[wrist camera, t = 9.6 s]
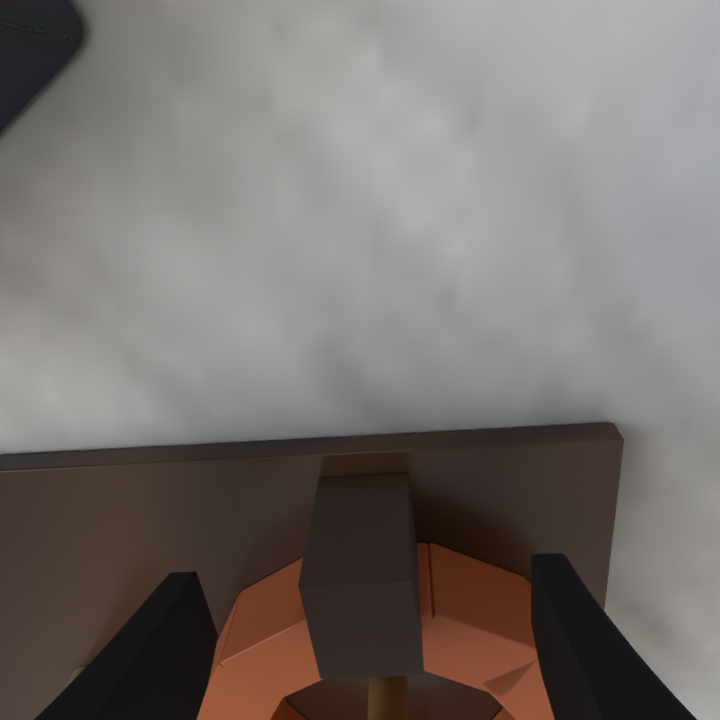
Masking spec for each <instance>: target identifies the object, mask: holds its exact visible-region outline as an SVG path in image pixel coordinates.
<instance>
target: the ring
mask: <svg viewBox="0 0 720 720" xmlns="http://www.w3.org/2000/svg"><path fill="white" fill-rule="evenodd" d="M424 671H427V672H430V673H433V674H436V675H439V676H442V677H445V678H448V679H451V680H454V681H456V682H459V683H462V684H465V685H468V686H471V687H474V688H477V689H480V690H483V691H486V692H489V693H490V694H491V695H492V696H493V697H494V698H495V699H496V700H497V701H498V702H499V703H500V704H501V705H502V706H503V708H502V709H501V711H500V712H499V713H498V714H497V715H496V716H495V717H494V719H493V720H555V719H554V715H553V712H552V709H551V705H550V702H549V699H548V695H547V692H546V689H545V686H544V682H543V679H542V675H541V670H540V666H539V661H538V656H537V651H536V646H535V641H534V635H533V630H532V625H531V583H530V582H529V581H528V580H525V577H523V576H520V575H518V574H515V573H512V572H510V571H507V570H504V569H501V568H499V567H496V566H493V565H491V564H488V563H485V562H482V561H480V560H477V559H474V558H471V557H469V556H466V555H463V554H461V553H458V552H455V551H452V550H450V549H447V548H444V547H441V546H439V545H436V544H433V543H429V544H428V545H427V543H417V541H416V531H415V522H414V513H413V504H412V495H411V486H410V477H409V474H408V473H407V472H403V473H388V474H374V475H359V476H345V477H330V478H320V479H319V480H318V484H317V489H316V494H315V499H314V504H313V510H312V515H311V520H310V525H309V530H308V535H307V540H306V545H305V551H304V556H303V558H301V559H299V560H297V561H295V562H294V563H292V564H290V565H288V566H286V567H284V568H283V569H281V570H279V571H277V572H275V573H274V574H272V575H270V576H268V577H266V578H264V579H263V580H261V581H259V582H257V583H255V584H254V585H252V586H250V587H248V588H246V589H244V590H243V591H242V592H241V593H240V594H239V596H238V598H237V600H236V602H235V604H234V607H233V609H232V611H231V613H230V615H229V617H228V620H227V622H226V624H225V626H224V628H223V631H222V633H221V635H220V637H219V639H218V641H217V644H216V649H215V655H214V660H213V665H212V669H211V674H210V678H209V682H208V686H207V690H206V693H205V696H204V699H203V702H202V705H201V708H200V711H199V714H198V717H197V720H307V719H306V718H305V717H303V716H302V715H301V714H300V713H299V712H297V711H296V710H295V709H294V708H293V707H292V706H290V705H289V704H288V703H287V702H286V699H285V697H286V696H288V695H290V694H292V693H294V692H297V691H299V690H301V689H303V688H305V687H308V686H310V685H312V684H314V683H316V682H318V681H321V680H323V679H330V678H361V677H393V676H421V675H423V673H424Z"/></svg>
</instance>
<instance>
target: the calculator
mask: <svg viewBox="0 0 720 720" xmlns="http://www.w3.org/2000/svg"><path fill="white" fill-rule="evenodd" d="M82 37H83V27H82V22H81V19H80V17H79V16H78V14H77V12H76V11H75V9H74V8H73V6H72V5H71V4H70V3H69V1H68V0H0V131H1V130H2V129H3V128H4V126H5V125H6V124H7V123H8V122H9V121H10V120H11V119H12V118H13V117H14V116H15V115H16V114H17V113H18V112H19V110H20V109H21V108H22V107H23V106H24V105H25V104H26V103H27V102H28V101H29V100H30V99H31V98H32V97H33V96H34V94H35V93H36V92H37V91H38V90H39V89H40V88H41V87H42V86H43V85H44V84H45V83H46V82H47V81H48V80H49V78H50V77H51V76H52V75H53V74H54V73H55V72H56V71H57V70H58V69H59V68H60V67H61V66H62V65H63V64H64V62H65V61H66V60H67V59H68V58H69V57H70V56H71V55H72V54H73V53H74V51H75V50H76V49H77V48H78V47H79V45H80V43H81V41H82Z"/></svg>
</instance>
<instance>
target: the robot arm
mask: <svg viewBox="0 0 720 720" xmlns="http://www.w3.org/2000/svg"><path fill="white" fill-rule="evenodd" d="M531 625H532V630H533V635H534V641H535V646H536V651H537V656H538V661H539V666H540V670H541V675H542V679H543V682H544V686H545V689H546V692H547V695H548V699H549V702H550V705H551V709H552V712H553V715H554V719H555V720H697V719H696V718H695V717H694V716H693V715H692V714H691V713H690V712H689V711H688V710H687V709H686V707H685V706H684V705H683V704H682V703H681V702H680V701H679V700H678V699H677V698H676V697H675V696H674V695H673V693H672V692H671V691H670V690H669V689H668V688H667V687H666V686H665V685H664V683H663V682H662V681H661V680H660V679H659V678H658V677H657V675H656V674H655V673H654V672H653V671H652V670H651V669H650V668H649V666H648V665H647V664H646V663H645V662H644V660H643V659H642V658H641V657H640V656H639V655H638V653H637V652H636V651H635V650H634V649H633V647H632V646H631V645H630V644H629V642H628V641H627V640H626V639H625V637H624V636H623V635H622V633H621V632H620V631H619V630H618V628H617V627H616V626H615V625H614V623H613V622H612V621H611V620H610V618H609V617H608V616H607V614H606V613H605V612H604V610H603V609H602V608H601V606H600V605H599V604H598V602H597V601H596V599H595V598H594V597H593V595H592V594H591V593H590V591H589V590H588V588H587V587H586V585H585V584H584V582H583V581H582V580H581V578H580V577H579V575H578V574H577V572H576V570H575V569H574V567H573V566H572V564H571V563H570V561H569V559H568V558H567V557H566V556H565V555H564V554H563V553H551V554H531ZM217 639H218V634H217V631H216V628H215V625H214V622H213V619H212V616H211V613H210V610H209V607H208V604H207V601H206V598H205V595H204V592H203V589H202V587H201V584H200V581H199V578H198V575H197V572H196V571H192V572H172V573H169V574H168V575H167V577H166V578H165V579H164V580H163V581H162V582H161V583H160V584H159V586H158V587H157V588H156V589H155V590H154V591H153V592H152V593H151V595H150V596H149V597H148V598H147V599H146V600H145V602H144V603H143V604H142V605H141V606H140V607H139V608H138V610H137V611H136V612H135V613H134V614H133V615H132V616H131V618H130V619H129V620H128V621H127V622H126V623H125V624H124V626H123V627H122V628H121V629H120V630H119V631H118V632H117V634H116V635H115V636H114V637H113V638H112V639H111V640H110V641H109V642H108V644H107V645H106V646H105V647H104V648H103V649H102V650H101V651H100V652H99V653H98V655H97V656H96V657H95V658H94V659H93V660H92V661H91V662H90V663H89V664H88V665H87V666H86V667H85V669H84V670H83V671H82V672H81V673H80V674H79V675H78V676H77V677H76V678H75V679H74V680H73V681H72V682H71V683H70V684H69V685H68V686H67V687H66V688H65V689H64V690H63V691H62V692H61V693H60V694H59V695H58V697H57V698H56V699H55V700H54V701H53V702H52V703H51V704H50V705H48V706H47V707H46V708H45V709H44V710H43V711H42V712H41V713H40V714H39V715H38V716H37V717H36V718H35V719H34V720H197V717H198V714H199V711H200V708H201V705H202V702H203V699H204V696H205V693H206V690H207V686H208V682H209V678H210V674H211V669H212V665H213V660H214V655H215V649H216V644H217Z"/></svg>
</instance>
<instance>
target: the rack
mask: <svg viewBox="0 0 720 720" xmlns="http://www.w3.org/2000/svg"><path fill="white" fill-rule="evenodd" d="M623 443H624V438H623V437H622V435H621V434H620V432H619V430H618V429H617V427H616V426H615V424H614V423H597V424H578V425H560V426H541V427H522V428H504V429H485V430H467V431H448V432H430V433H411V434H392V435H374V436H355V437H337V438H318V439H300V440H281V441H262V442H244V443H225V444H207V445H188V446H170V447H151V448H132V449H114V450H95V451H77V452H58V453H40V454H21V455H2V456H0V720H34V719H35V718H36V717H37V716H38V715H39V714H40V713H41V712H42V711H43V710H44V709H45V708H46V707H47V706H48V705H50V704H51V703H52V702H53V701H54V700H55V699H56V698H57V697H58V695H59V694H60V693H61V692H62V691H63V690H64V689H65V688H66V687H67V686H68V685H69V684H70V683H71V682H72V681H73V680H74V679H75V678H76V677H77V676H78V675H79V674H80V673H81V672H82V671H83V670H84V669H85V667H86V666H87V665H88V664H89V663H90V662H91V661H92V660H93V659H94V658H95V657H96V656H97V655H98V653H99V652H100V651H101V650H102V649H103V648H104V647H105V646H106V645H107V644H108V642H109V641H110V640H111V639H112V638H113V637H114V636H115V635H116V634H117V632H118V631H119V630H120V629H121V628H122V627H123V626H124V624H125V623H126V622H127V621H128V620H129V619H130V618H131V616H132V615H133V614H134V613H135V612H136V611H137V610H138V608H139V607H140V606H141V605H142V604H143V603H144V602H145V600H146V599H147V598H148V597H149V596H150V595H151V593H152V592H153V591H154V590H155V589H156V588H157V587H158V586H159V584H160V583H161V582H162V581H163V580H164V579H165V578H166V577H167V575H168V574H169V573H172V572H192V571H196V572H197V575H198V578H199V581H200V584H201V587H202V589H203V592H204V595H205V598H206V601H207V604H208V607H209V610H210V613H211V616H212V619H213V622H214V625H215V628H216V631H217V634H218V639H219V637H220V635H221V633H222V631H223V628H224V626H225V624H226V622H227V620H228V617H229V615H230V613H231V611H232V609H233V607H234V604H235V602H236V600H237V598H238V596H239V594H240V593H241V592H242V591H243V590H244V589H246V588H248V587H250V586H252V585H254V584H255V583H257V582H259V581H261V580H263V579H264V578H266V577H268V576H270V575H272V574H274V573H275V572H277V571H279V570H281V569H283V568H284V567H286V566H288V565H290V564H292V563H294V562H295V561H297V560H299V559H301V558H303V556H304V551H305V545H306V540H307V535H308V530H309V525H310V520H311V515H312V510H313V504H314V499H315V494H316V489H317V484H318V480H319V479H320V478H330V477H345V476H359V475H374V474H388V473H403V472H407V473H408V474H409V477H410V486H411V495H412V504H413V513H414V522H415V531H416V541H417V543H427V545H428V544H429V543H433V544H436V545H439V546H441V547H444V548H447V549H450V550H452V551H455V552H458V553H461V554H463V555H466V556H469V557H471V558H474V559H477V560H480V561H482V562H485V563H488V564H491V565H493V566H496V567H499V568H501V569H504V570H507V571H510V572H512V573H515V574H518V575H520V576H523V577H525V580H528V581H529V582H530V583H531V554H551V553H563V554H564V555H565V556H566V557H567V558H568V559H569V561H570V563H571V564H572V566H573V567H574V569H575V570H576V572H577V574H578V575H579V577H580V578H581V580H582V581H583V582H584V584H585V585H586V587H587V588H588V590H589V591H590V593H591V594H592V595H593V597H594V598H595V599H596V601H597V602H598V604H599V605H600V606H601V608H602V609H603V610H604V607H605V598H606V590H607V581H608V573H609V564H610V555H611V547H612V538H613V529H614V521H615V512H616V504H617V495H618V486H619V478H620V469H621V461H622V452H623ZM218 639H217V641H218ZM285 699H286V702H287V703H288V704H289V705H290V706H292V707H293V708H294V709H295V710H296V711H297V712H299V713H300V714H301V715H302V716H303V717H305V718H306V719H307V720H493V719H494V717H495V716H496V715H497V714H498V713H499V712H500V711H501V709H502V708H503V706H502V705H501V704H500V703H499V702H498V701H497V700H496V699H495V698H494V697H493V696H492V695H491V694H490V693H489V692H486V691H483V690H480V689H477V688H474V687H471V686H468V685H465V684H462V683H459V682H456V681H454V680H451V679H448V678H445V677H442V676H439V675H436V674H433V673H430V672H427V671H424V673H423V675H421V676H393V677H361V678H330V679H323V680H321V681H318V682H316V683H314V684H312V685H310V686H308V687H305V688H303V689H301V690H299V691H297V692H294V693H292V694H290V695H288V696H286V697H285Z"/></svg>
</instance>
